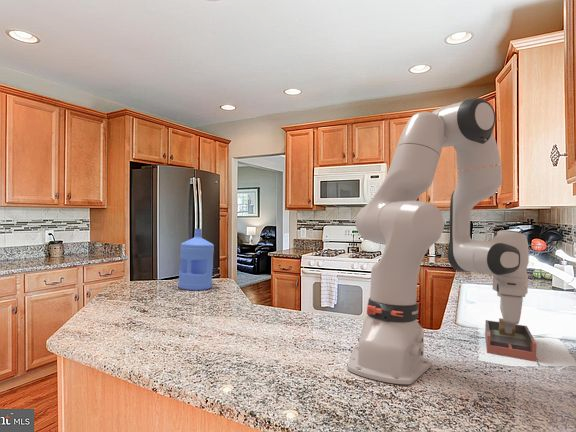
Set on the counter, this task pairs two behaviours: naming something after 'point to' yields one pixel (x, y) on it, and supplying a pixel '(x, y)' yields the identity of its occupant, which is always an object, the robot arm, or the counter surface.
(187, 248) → the water jug
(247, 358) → the counter surface
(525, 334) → the box
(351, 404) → the counter surface
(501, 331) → the maple block
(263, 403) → the counter surface
